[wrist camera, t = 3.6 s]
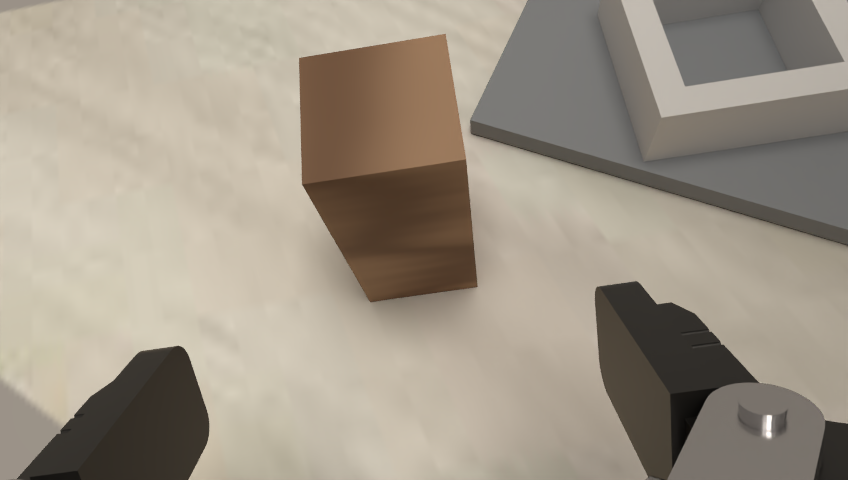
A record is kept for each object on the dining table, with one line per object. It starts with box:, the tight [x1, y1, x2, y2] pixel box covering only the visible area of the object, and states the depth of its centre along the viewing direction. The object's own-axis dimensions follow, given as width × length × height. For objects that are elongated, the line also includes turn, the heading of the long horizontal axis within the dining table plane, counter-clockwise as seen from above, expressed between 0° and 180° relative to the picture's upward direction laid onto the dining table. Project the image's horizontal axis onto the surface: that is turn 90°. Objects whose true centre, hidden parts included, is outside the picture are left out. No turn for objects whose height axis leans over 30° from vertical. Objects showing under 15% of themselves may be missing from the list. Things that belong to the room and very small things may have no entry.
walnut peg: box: [299, 34, 477, 302], centre depth 21 cm, size 4×4×10 cm
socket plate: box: [470, 0, 848, 245], centre depth 25 cm, size 18×12×4 cm, turn 66°
